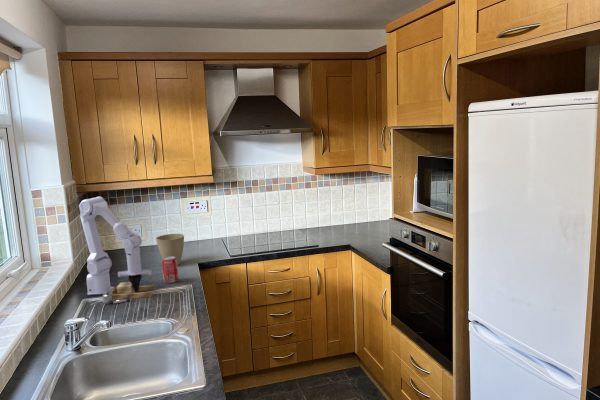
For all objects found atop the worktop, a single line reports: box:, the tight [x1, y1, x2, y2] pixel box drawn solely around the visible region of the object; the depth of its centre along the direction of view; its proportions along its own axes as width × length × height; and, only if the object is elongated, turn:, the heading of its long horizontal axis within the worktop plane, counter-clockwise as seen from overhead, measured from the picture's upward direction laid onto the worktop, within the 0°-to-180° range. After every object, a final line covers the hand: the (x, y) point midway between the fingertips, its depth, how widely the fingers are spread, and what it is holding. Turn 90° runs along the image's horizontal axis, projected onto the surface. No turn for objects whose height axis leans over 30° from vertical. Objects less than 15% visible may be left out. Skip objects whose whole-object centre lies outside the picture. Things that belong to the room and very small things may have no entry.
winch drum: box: [102, 291, 114, 305], centre depth 197 cm, size 4×4×5 cm
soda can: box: [161, 256, 179, 284], centre depth 221 cm, size 7×7×12 cm
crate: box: [116, 281, 136, 294], centre depth 205 cm, size 6×6×5 cm
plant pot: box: [155, 233, 185, 266], centre depth 249 cm, size 15×15×16 cm
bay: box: [109, 284, 157, 301], centre depth 206 cm, size 18×10×3 cm, turn 95°
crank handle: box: [113, 295, 131, 305], centre depth 197 cm, size 7×1×2 cm, turn 115°
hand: (136, 290), depth 206 cm, fingers closed
